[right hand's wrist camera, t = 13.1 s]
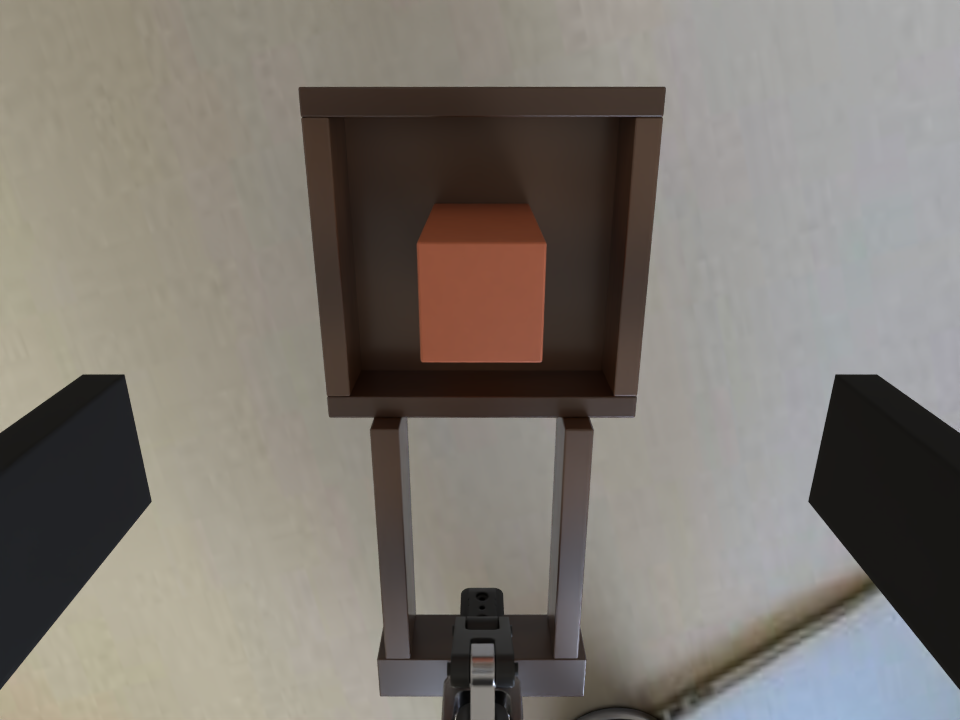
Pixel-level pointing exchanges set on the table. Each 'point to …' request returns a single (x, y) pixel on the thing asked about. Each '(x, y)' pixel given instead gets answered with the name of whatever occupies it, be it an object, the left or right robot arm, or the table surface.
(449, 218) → the terracotta block
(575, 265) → the walnut tray
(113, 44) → the table surface
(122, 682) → the table surface
